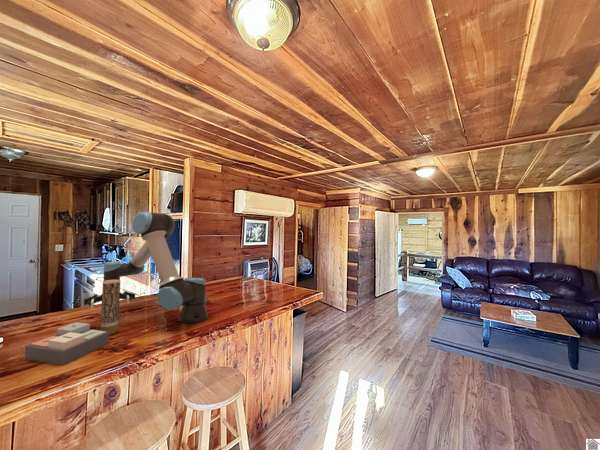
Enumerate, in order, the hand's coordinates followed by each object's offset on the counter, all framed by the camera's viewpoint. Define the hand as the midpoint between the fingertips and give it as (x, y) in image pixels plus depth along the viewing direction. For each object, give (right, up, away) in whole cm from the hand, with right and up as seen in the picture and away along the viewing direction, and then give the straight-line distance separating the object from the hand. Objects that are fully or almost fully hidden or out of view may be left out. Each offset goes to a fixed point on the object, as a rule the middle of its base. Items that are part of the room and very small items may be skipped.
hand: (110, 303), depth 116 cm
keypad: (-5, -15, -15) cm, 22 cm away
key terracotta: (-10, -12, -19) cm, 24 cm away
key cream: (-1, -10, -20) cm, 23 cm away
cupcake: (+22, -17, +54) cm, 61 cm away
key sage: (0, -12, -12) cm, 17 cm away
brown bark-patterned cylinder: (-2, -15, +2) cm, 16 cm away
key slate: (-8, -10, -10) cm, 16 cm away
